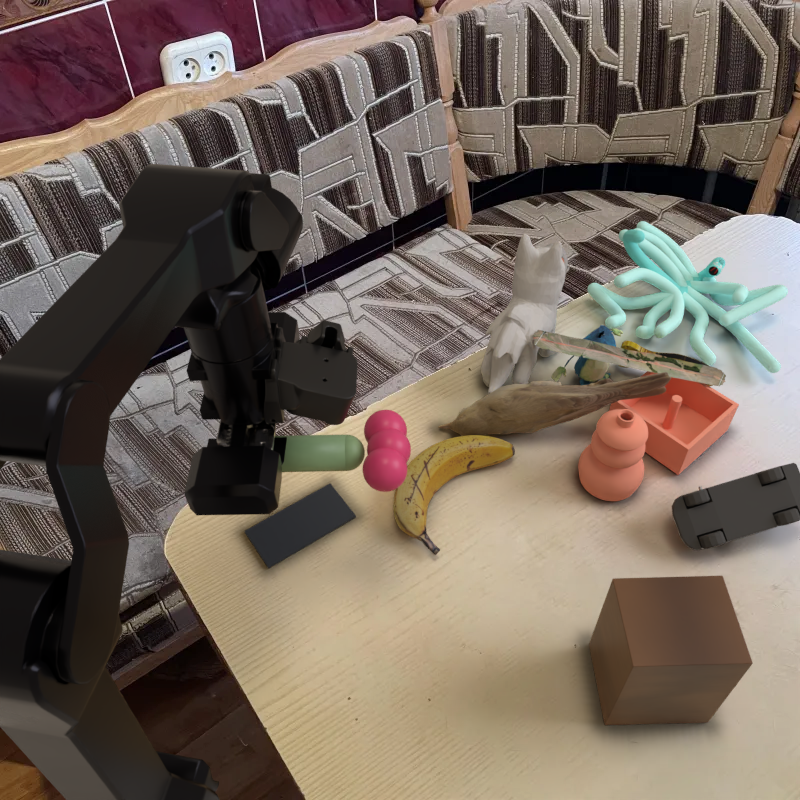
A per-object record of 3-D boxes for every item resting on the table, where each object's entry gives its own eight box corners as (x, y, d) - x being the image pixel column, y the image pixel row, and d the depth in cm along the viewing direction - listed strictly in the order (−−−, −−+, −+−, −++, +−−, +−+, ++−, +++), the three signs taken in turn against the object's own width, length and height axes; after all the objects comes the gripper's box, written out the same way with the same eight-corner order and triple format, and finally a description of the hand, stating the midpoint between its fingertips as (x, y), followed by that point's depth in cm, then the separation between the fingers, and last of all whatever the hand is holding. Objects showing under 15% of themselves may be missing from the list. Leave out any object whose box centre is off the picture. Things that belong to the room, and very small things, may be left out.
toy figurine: (570, 414, 85) (581, 366, 79) (542, 394, 87) (550, 346, 81) (636, 363, 90) (650, 315, 84) (608, 345, 92) (620, 297, 87)
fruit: (433, 562, 72) (433, 545, 70) (368, 507, 77) (367, 489, 75) (533, 470, 80) (536, 452, 77) (469, 425, 84) (470, 406, 82)
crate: (604, 725, 62) (632, 666, 53) (588, 643, 67) (612, 578, 58) (708, 722, 62) (753, 663, 53) (685, 641, 67) (722, 575, 58)
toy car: (695, 556, 69) (675, 556, 74) (825, 516, 70) (798, 519, 75) (672, 495, 70) (655, 499, 75) (801, 456, 71) (775, 463, 76)
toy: (578, 320, 95) (588, 217, 84) (516, 423, 84) (518, 319, 73) (530, 308, 97) (534, 206, 87) (464, 405, 87) (459, 303, 76)
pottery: (655, 384, 88) (675, 320, 80) (727, 430, 83) (756, 366, 75) (551, 467, 80) (564, 404, 72) (624, 523, 75) (646, 462, 68)
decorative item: (613, 365, 90) (622, 342, 85) (615, 359, 90) (624, 336, 85) (709, 394, 87) (723, 373, 83) (710, 388, 87) (724, 366, 83)
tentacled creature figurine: (629, 201, 84) (692, 174, 96) (554, 279, 94) (620, 246, 106) (786, 373, 80) (831, 322, 92) (690, 436, 90) (742, 383, 102)
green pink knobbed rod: (228, 503, 61) (219, 476, 58) (241, 431, 66) (233, 403, 63) (411, 500, 61) (411, 473, 58) (410, 428, 66) (409, 400, 63)
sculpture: (665, 380, 81) (677, 410, 77) (446, 434, 87) (447, 465, 83) (657, 334, 78) (669, 364, 74) (429, 395, 84) (429, 425, 80)
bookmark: (533, 330, 82) (535, 327, 82) (722, 370, 83) (724, 367, 82) (532, 348, 81) (534, 345, 80) (725, 389, 81) (727, 386, 81)
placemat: (268, 569, 72) (268, 566, 72) (244, 533, 75) (244, 530, 75) (356, 517, 76) (356, 515, 76) (330, 485, 79) (330, 482, 79)
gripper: (339, 436, 46) (356, 567, 58) (351, 251, 59) (363, 389, 70) (157, 439, 46) (210, 569, 58) (208, 254, 59) (243, 391, 70)
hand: (265, 471), depth 64 cm, fingers closed on green pink knobbed rod, 3 cm apart
